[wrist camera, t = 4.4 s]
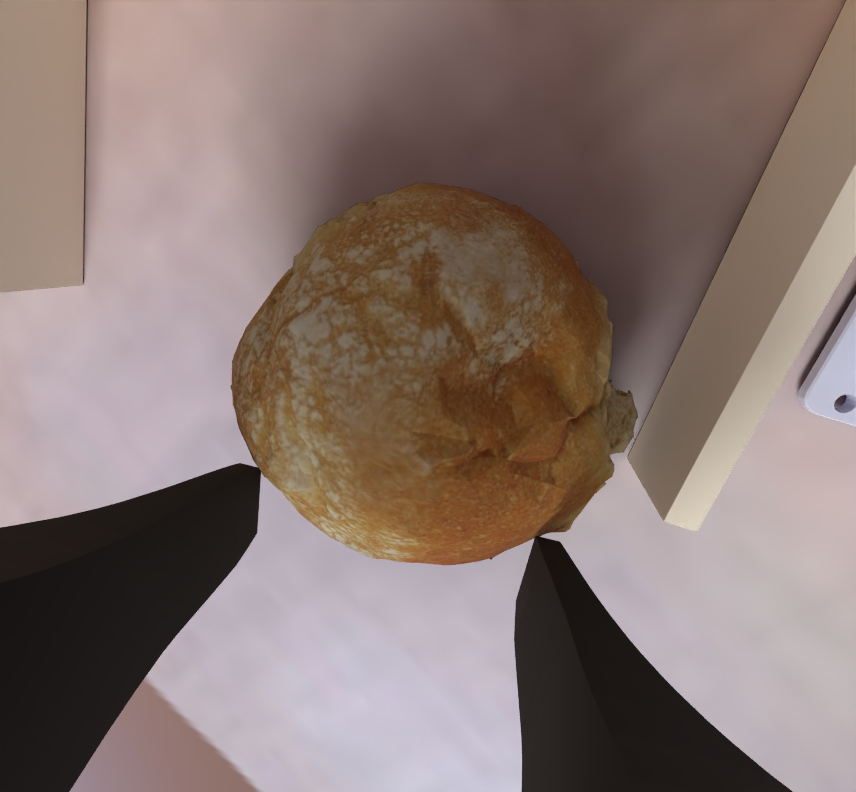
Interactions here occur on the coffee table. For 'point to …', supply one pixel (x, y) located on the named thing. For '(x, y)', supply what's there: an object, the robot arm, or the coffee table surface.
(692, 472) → the cream low open frame
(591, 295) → the bread roll
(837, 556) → the coffee table surface
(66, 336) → the coffee table surface
